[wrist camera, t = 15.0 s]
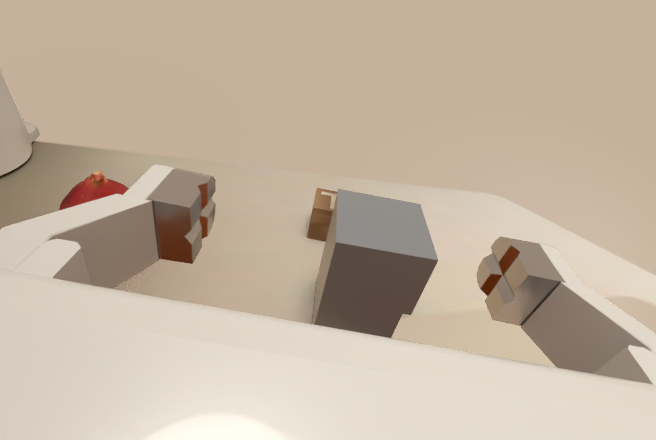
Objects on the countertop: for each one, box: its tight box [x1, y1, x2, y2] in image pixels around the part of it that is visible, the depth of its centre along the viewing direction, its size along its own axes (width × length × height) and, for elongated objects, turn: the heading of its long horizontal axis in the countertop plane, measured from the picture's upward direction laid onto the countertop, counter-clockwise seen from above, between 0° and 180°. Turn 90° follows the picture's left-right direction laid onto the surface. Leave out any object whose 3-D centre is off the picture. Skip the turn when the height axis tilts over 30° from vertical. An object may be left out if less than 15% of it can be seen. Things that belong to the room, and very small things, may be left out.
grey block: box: [312, 189, 438, 338], centre depth 26 cm, size 6×6×10 cm
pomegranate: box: [59, 171, 129, 211], centre depth 28 cm, size 6×6×8 cm
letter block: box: [307, 188, 337, 241], centre depth 37 cm, size 4×4×4 cm
